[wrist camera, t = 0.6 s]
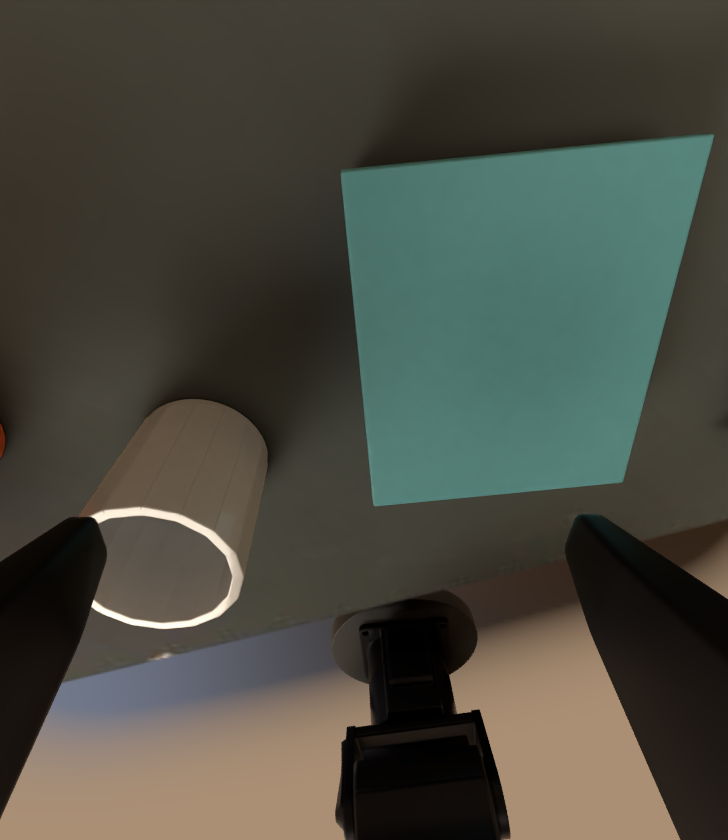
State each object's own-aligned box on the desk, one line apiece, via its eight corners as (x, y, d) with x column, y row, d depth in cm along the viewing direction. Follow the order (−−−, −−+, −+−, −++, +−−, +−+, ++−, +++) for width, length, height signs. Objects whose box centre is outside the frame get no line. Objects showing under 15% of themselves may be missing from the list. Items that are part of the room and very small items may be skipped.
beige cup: (278, 497, 23) (258, 620, 17) (160, 508, 23) (98, 635, 17) (253, 392, 20) (218, 498, 14) (117, 405, 20) (24, 517, 14)
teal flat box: (587, 439, 22) (623, 483, 20) (369, 460, 22) (373, 507, 20) (648, 134, 16) (716, 133, 13) (339, 164, 16) (340, 170, 13)
